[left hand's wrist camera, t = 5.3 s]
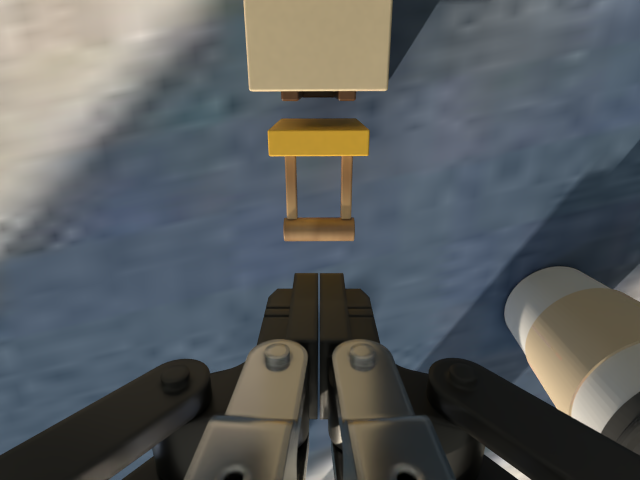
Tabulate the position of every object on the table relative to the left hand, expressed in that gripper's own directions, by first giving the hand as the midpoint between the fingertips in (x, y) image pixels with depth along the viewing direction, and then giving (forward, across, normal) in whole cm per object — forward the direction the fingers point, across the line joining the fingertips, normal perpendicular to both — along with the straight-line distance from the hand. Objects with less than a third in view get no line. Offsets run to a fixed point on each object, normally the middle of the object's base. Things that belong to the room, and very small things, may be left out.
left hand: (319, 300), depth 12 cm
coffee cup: (+16, +18, -10) cm, 26 cm away
